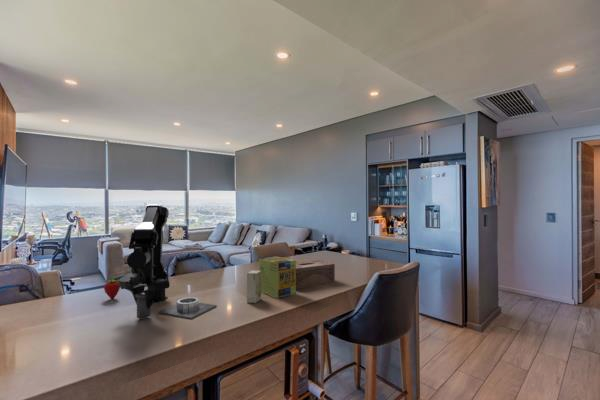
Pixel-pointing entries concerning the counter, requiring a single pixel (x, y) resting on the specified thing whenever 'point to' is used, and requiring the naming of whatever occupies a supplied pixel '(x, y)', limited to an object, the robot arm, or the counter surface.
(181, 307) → the barrel stand
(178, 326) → the counter surface
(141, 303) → the plug
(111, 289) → the strawberry
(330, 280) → the tissue box cover
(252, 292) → the skincare box
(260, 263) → the protein box
